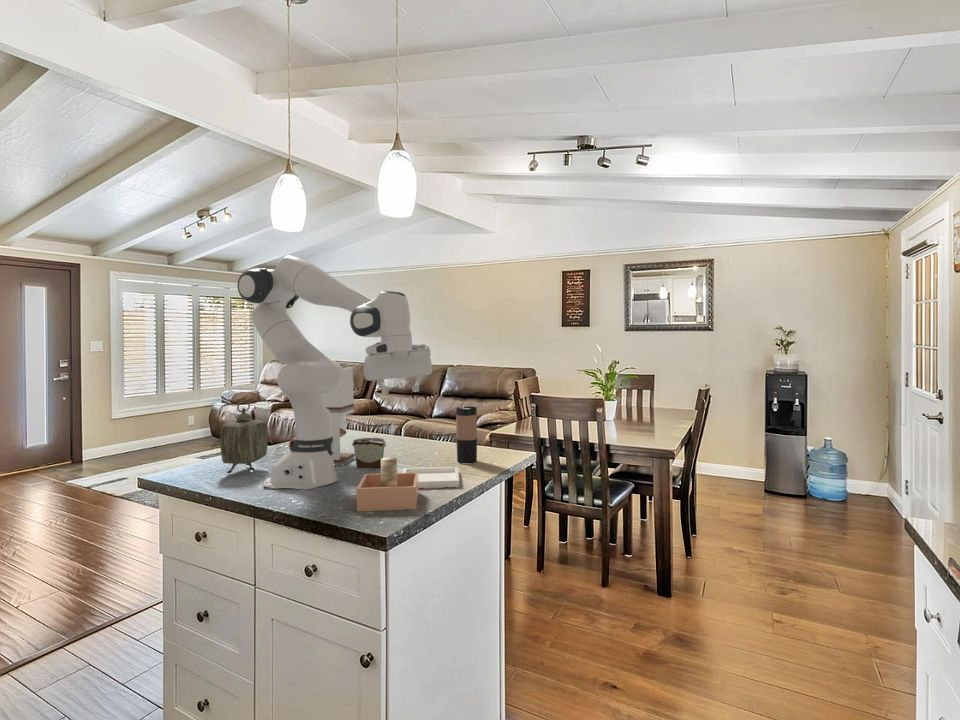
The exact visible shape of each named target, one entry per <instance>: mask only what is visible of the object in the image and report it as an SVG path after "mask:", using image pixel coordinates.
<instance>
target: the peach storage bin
mask: <svg viewBox="0 0 960 720" xmlns="http://www.w3.org/2000/svg"><path fill="white" fill-rule="evenodd" d="M419 493H420V492H419V480H418V473H403V472H397V487H381V473H365V474H364V475H363V477H362V478H361V481H360V482H359V484H358V485H357V487H356V512H373V511H375V512H377V511H378V512H379V511H380V510H381V511H404V510H405V509H410V510H417V507H418V501H419ZM405 511H406V510H405Z"/></svg>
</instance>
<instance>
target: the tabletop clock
mask: <svg viewBox="0 0 960 720" xmlns="http://www.w3.org/2000/svg"><path fill="white" fill-rule="evenodd" d="M242 403H247V405H248V407H247V408H245V407H243V408H242V409H240V405H241V404H242ZM236 407H237V408H236V409H237V411H238V412H239V414H237V416H236V417H235V419H233V420H231V421H228V422H226V423H224V424H223V425H222V426H221V428H220V429H221V430H220V445H219V446H220V457H221V460H222V463H223V464H227V465H229V464H232V466H231V468H230V470H227V472H226V474H227V473H231V472H232V473H233V470H234V469H235V467H236V466H237V465H245V466H246V465H249V466H250V467H249V469H248V471H249V470H254V471H255V468H254V467H252V466H253V465H252V463H255V462H257V461H258V460H260V459H262V458H264V457H265V456H266V455H267V453H268V428H267V427H268V426H267V423H265V422H264V420H261V419H253V417H252V415H251V414H250V413H248V410H250V407H251V405H250V401H249V400H248V399H241V400H240V401H239V402H238V403H237V406H236Z"/></svg>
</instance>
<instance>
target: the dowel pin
mask: <svg viewBox="0 0 960 720" xmlns="http://www.w3.org/2000/svg"><path fill="white" fill-rule="evenodd" d="M397 459H398V458H397V457H393V456H390V457H389V456H388V457H387V456H386V457H383V458H382V459H381V470H380V474H381V487H397V473H398V460H397Z"/></svg>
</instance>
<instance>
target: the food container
mask: <svg viewBox="0 0 960 720" xmlns="http://www.w3.org/2000/svg"><path fill="white" fill-rule="evenodd" d="M351 446H352V447H353V449H354V453H355V459H354V460H355V467H356V469H358V468H368V469H367V470H379V469H381V459H382V458H384V453H385V448H386V447H387V444H386V440H385V439H384V438H381V437H380V438H379V437H362V438H356V439H353V441H352V444H351Z"/></svg>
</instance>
